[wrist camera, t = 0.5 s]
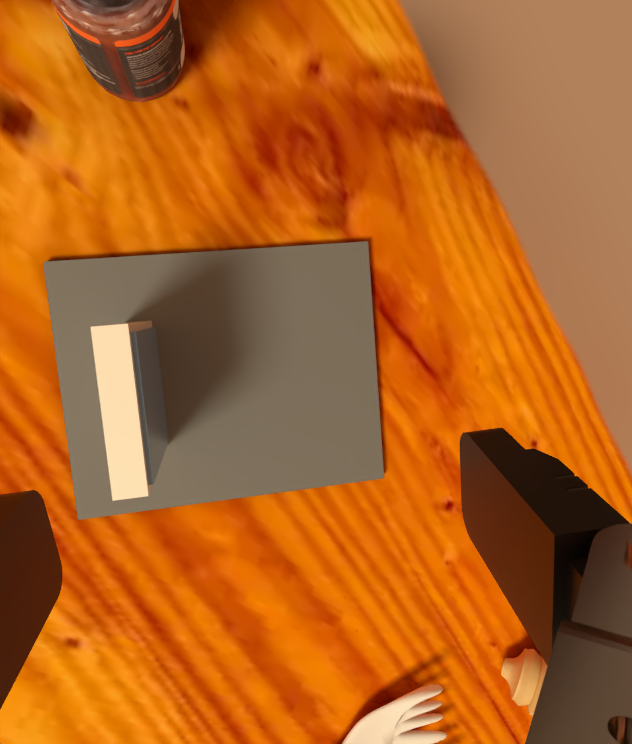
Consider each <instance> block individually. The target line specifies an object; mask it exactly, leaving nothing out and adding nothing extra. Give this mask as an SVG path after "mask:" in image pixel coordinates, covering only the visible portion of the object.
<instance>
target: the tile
mask: <svg viewBox="0 0 632 744" xmlns="http://www.w3.org/2000/svg"><path fill="white" fill-rule="evenodd" d="M90 328H91V335H92V343H93V351H94V359H95V367H96V375H97V383H98V390H99V398H100V406H101V414H102V422H103V430H104V438H105V445H106V453H107V461H108V469H109V477H110V485H111V493H112V500H113V501H115V500H123V499H130V498H138V497H145V496H149V493H150V490H151V487H152V485H154V482H155V479H156V476H157V473H158V471H159V468H160V465H161V462H162V459H163V456H164V453H165V450H166V448H167V445H168V442H169V439H168V430H167V421H166V412H165V404H164V395H163V386H162V377H161V368H160V360H159V351H158V342H157V333H156V327H152V321H140V322H128V323H118V324H110V325H101V326H93V327H90Z"/></svg>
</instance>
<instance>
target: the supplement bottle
mask: <svg viewBox="0 0 632 744" xmlns="http://www.w3.org/2000/svg"><path fill="white" fill-rule="evenodd" d="M51 1H52V3H53V5H54V7H55V9H56V11H57V13H58V14H59V16H60V18H61V20H62V22H63V24H64V26H65V28H66V30H67V32H68V34H69V36H70V37H71V39H72V41H73V43H74V45H75V47H76V49H77V51H78V52H79V54H80V56H81V58H82V60H83V62H84V64H85V66H86V67H87V69H88V71H89V72H90V73H91V75H92V76H93V78H94V79H95V80H96V81H97V82H98V83H99V85H100V86H102V87H103V88H104V89H105V90H106V91H108V92H109V93H111V94H113V95H115V96H117V97H119V98H122V99H125V100H129V101H140V102H144V101H149V100H153V99H155V98H158V97H160V96H162V95H164V94H165V93H166V92H168V91H169V90H170V89H171V88H172V87H173V86H174V85H175V83H176V82H177V81H178V79H179V77H180V75H181V72H182V69H183V66H184V59H185V46H184V37H183V27H182V21H181V13H180V6H179V0H51Z"/></svg>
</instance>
